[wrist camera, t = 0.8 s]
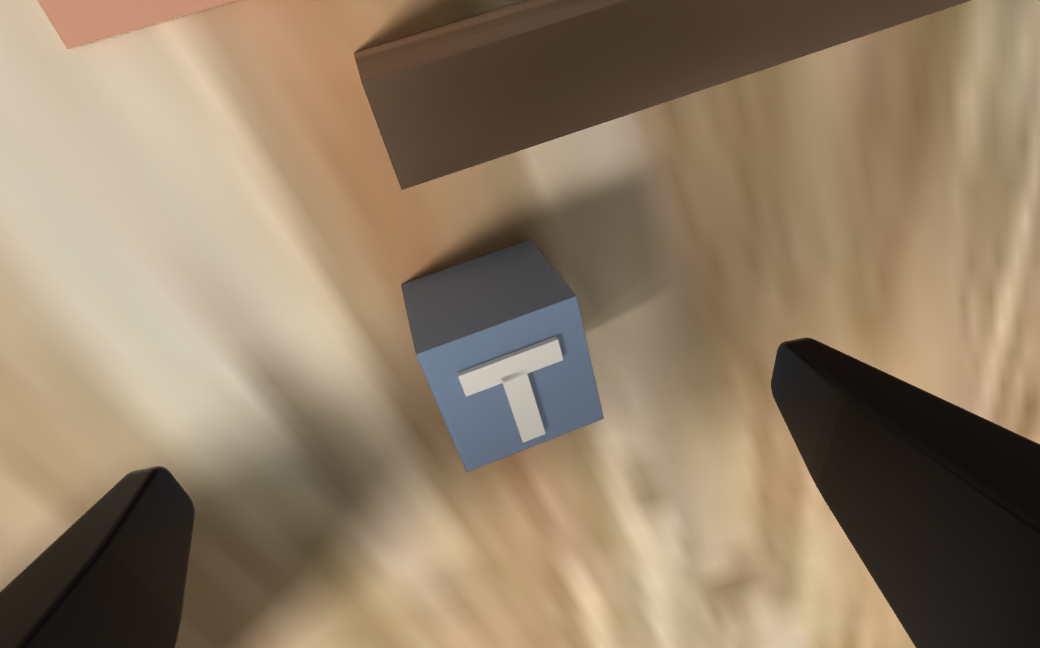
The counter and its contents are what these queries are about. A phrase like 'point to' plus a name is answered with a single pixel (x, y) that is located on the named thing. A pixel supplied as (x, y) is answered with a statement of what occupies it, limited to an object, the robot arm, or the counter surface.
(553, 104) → the walnut screen
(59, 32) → the terracotta pad
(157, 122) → the counter surface
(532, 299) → the letter cube
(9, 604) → the robot arm
